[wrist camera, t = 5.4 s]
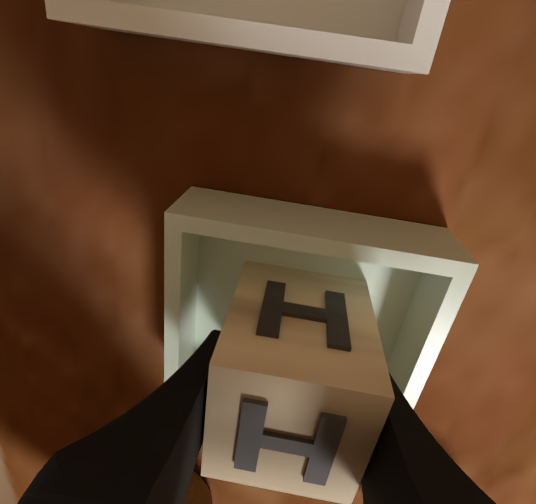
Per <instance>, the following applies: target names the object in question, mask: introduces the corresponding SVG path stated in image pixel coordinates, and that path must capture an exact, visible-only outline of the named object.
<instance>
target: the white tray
mask: <svg viewBox="0 0 536 504" xmlns="http://www.w3.org/2000/svg"><path fill="white" fill-rule="evenodd" d="M450 1H451V0H45V7H46V15H47V19H51V20H57V21H62V22H67V23H73V24H78V25H83V26H89V27H94V28H99V29H105V30H111V31H118V32H125V33H132V34H139V35H146V36H152V37H159V38H166V39H173V40H180V41H187V42H193V43H200V44H207V45H214V46H221V47H228V48H234V49H241V50H248V51H255V52H262V53H269V54H276V55H282V56H289V57H296V58H303V59H310V60H317V61H323V62H330V63H337V64H344V65H351V66H358V67H364V68H371V69H378V70H385V71H392V72H399V73H410V74H429V71H430V68H431V64H432V61H433V58H434V54H435V51H436V48H437V44H438V41H439V38H440V34H441V31H442V28H443V24H444V21H445V18H446V14H447V11H448V8H449V4H450Z"/></svg>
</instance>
